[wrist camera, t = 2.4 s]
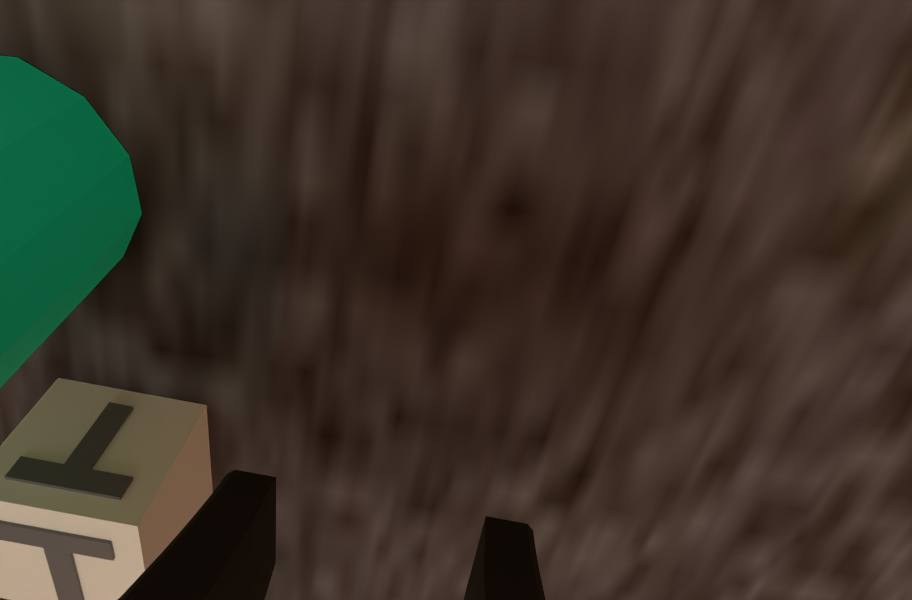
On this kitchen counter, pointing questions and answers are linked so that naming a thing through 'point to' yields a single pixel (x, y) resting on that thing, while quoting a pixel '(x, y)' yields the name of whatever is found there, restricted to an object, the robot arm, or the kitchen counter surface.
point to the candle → (54, 206)
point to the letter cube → (97, 489)
